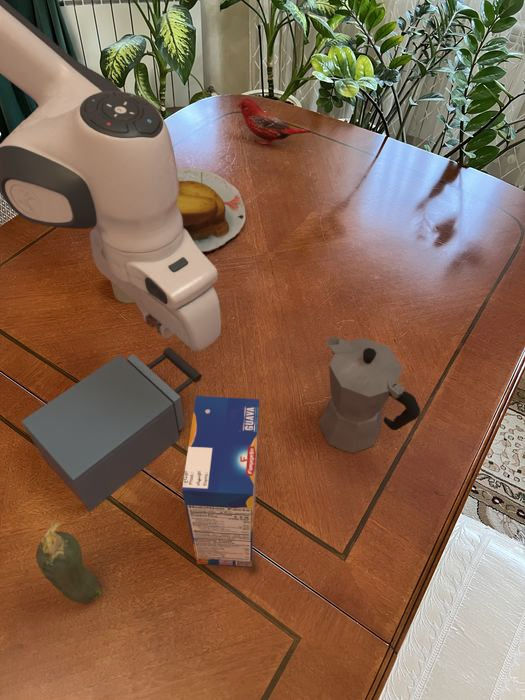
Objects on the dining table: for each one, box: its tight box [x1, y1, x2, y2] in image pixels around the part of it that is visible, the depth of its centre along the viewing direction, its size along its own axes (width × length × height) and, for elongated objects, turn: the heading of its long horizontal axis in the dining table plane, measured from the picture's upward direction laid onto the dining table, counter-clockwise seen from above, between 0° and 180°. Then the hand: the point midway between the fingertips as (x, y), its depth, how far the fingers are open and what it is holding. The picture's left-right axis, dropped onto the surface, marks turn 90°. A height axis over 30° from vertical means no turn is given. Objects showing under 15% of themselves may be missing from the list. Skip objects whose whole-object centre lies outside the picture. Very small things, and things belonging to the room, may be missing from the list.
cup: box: [109, 280, 135, 304], centre depth 99 cm, size 6×6×6 cm
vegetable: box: [35, 520, 102, 605], centre depth 62 cm, size 4×4×20 cm
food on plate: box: [176, 167, 247, 253], centre depth 112 cm, size 25×25×7 cm
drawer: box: [126, 346, 203, 432], centre depth 80 cm, size 20×10×8 cm, turn 136°
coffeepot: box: [318, 336, 421, 454], centre depth 78 cm, size 15×9×18 cm, turn 43°
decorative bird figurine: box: [236, 97, 312, 147], centre depth 127 cm, size 3×18×10 cm, turn 67°
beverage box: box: [181, 395, 260, 568], centre depth 67 cm, size 7×11×22 cm, turn 177°
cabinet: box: [21, 354, 180, 512], centre depth 78 cm, size 16×12×10 cm
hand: (159, 327), depth 74 cm, fingers closed
